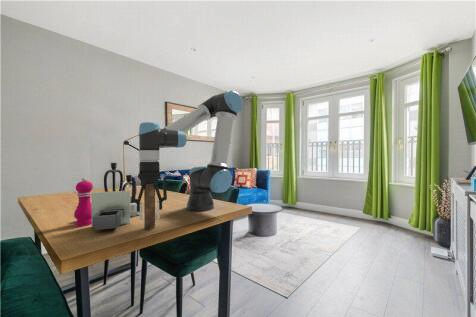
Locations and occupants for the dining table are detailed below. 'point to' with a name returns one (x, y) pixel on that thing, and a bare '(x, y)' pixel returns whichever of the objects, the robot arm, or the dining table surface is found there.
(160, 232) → the dining table surface
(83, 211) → the pepper mill
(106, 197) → the grey card holder
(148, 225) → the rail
